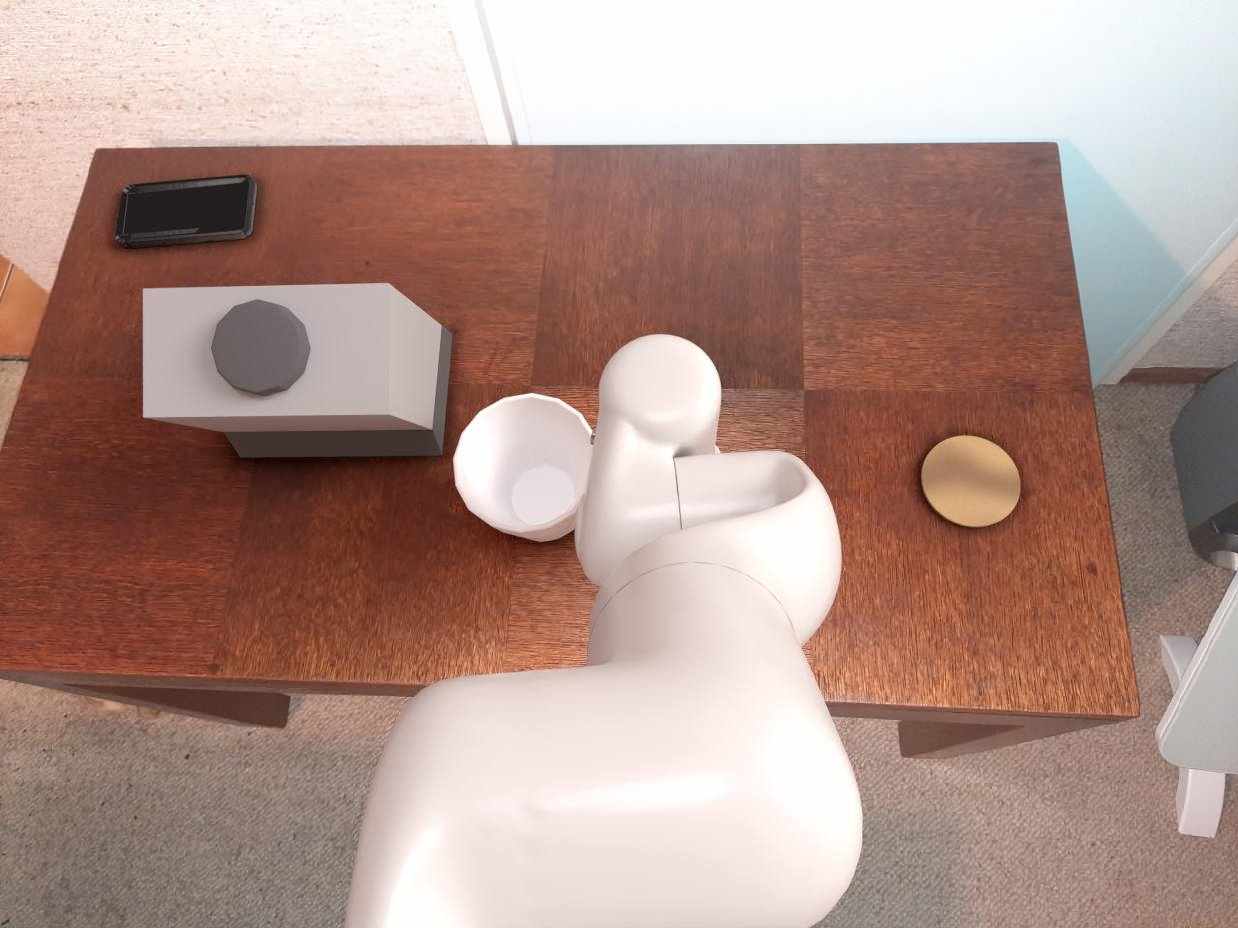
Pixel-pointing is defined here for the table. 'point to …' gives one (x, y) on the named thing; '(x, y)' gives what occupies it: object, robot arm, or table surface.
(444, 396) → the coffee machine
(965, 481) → the coaster
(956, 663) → the table surface
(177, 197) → the phone
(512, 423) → the cup
